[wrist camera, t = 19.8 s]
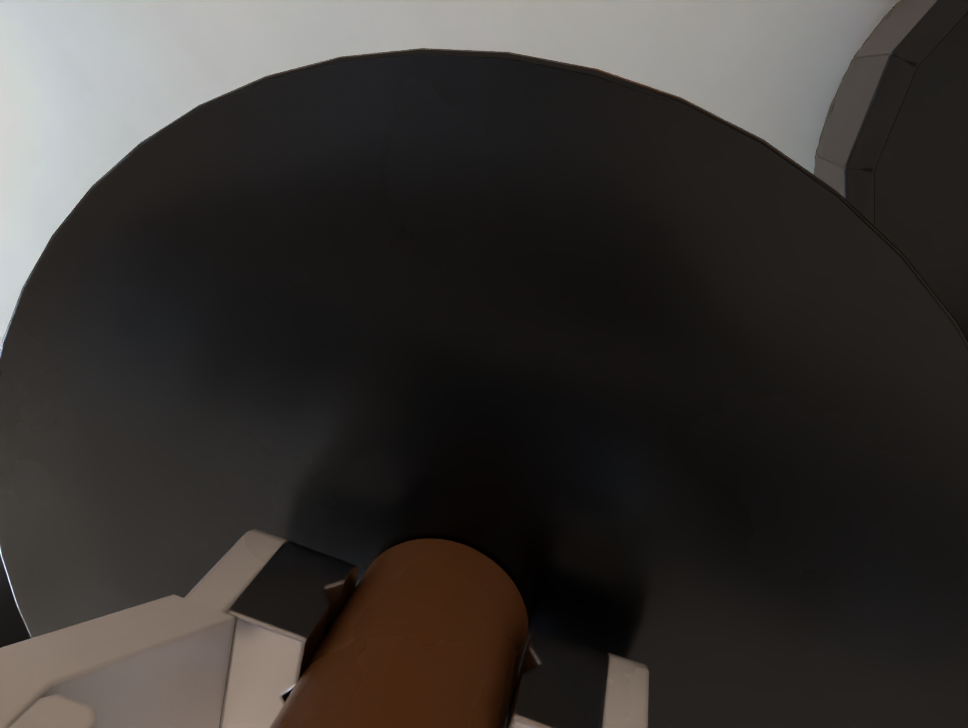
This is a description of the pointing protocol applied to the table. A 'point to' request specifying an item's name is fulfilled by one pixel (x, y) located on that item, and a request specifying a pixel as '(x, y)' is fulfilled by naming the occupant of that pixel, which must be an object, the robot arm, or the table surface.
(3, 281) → the table surface
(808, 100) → the table surface
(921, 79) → the pan
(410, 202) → the lid
